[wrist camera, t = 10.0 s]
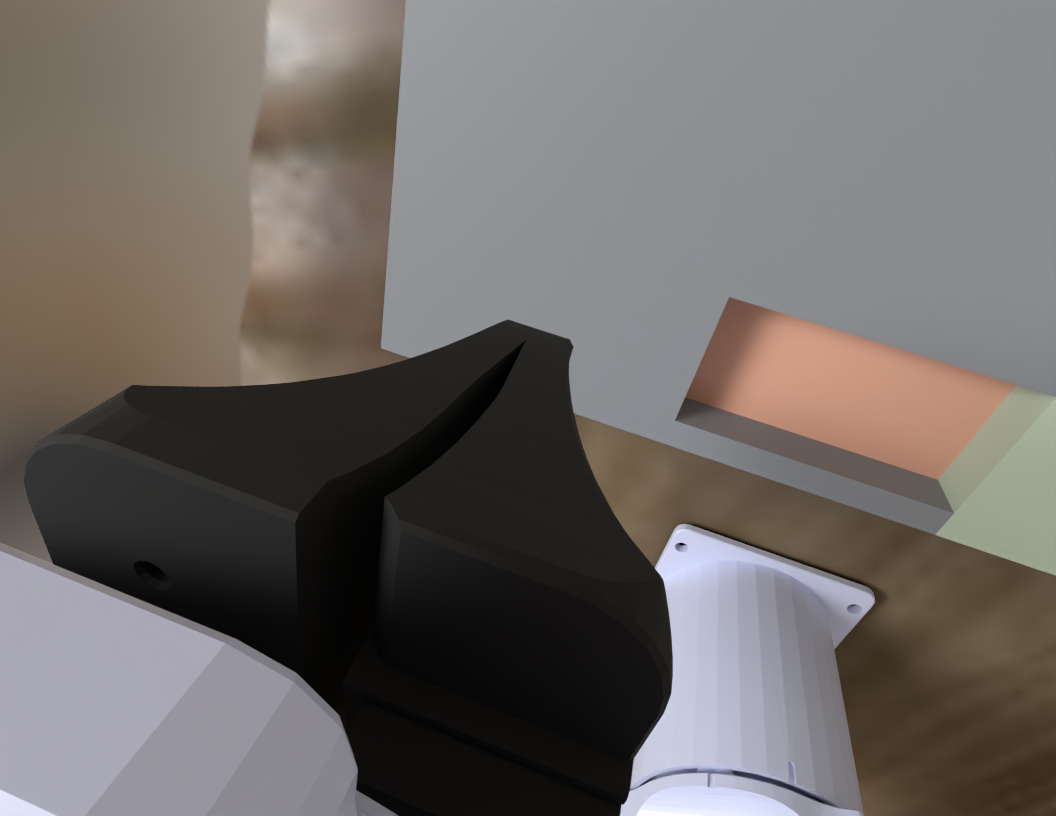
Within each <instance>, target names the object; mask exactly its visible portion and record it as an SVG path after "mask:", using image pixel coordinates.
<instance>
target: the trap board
mask: <svg viewBox="0 0 1056 816" xmlns="http://www.w3.org/2000/svg"><path fill="white" fill-rule="evenodd" d="M505 320H511V321H514V322H518V323H521V324H524V325H527V326H530V327H533V328H536V329H539V330H542V331H545V332H548V333H552V334H555V335H558V336H561V337H564V338H567V339H570V341H571V343H572V345H573V350H572V354H571V357H570V361H569V383H570V392H571V400H572V406H573V412H574V413H575V414H578V415H581V416H584V417H587V418H590V419H593V420H596V421H598V422H601V423H604V424H607V425H610V426H613V427H616V428H619V429H622V430H625V431H628V432H631V433H634V434H637V435H640V436H643V437H646V438H649V439H652V440H655V441H658V442H661V443H664V444H667V445H670V446H673V447H676V448H679V449H682V450H685V451H687V452H690V453H693V454H696V455H699V456H702V457H705V458H708V459H711V460H714V461H717V462H720V463H723V464H726V465H729V466H732V467H735V468H738V469H741V470H744V471H747V472H750V473H753V474H756V475H759V476H762V477H765V478H768V479H771V480H774V481H776V482H779V483H782V484H785V485H788V486H791V487H794V488H797V489H800V490H803V491H806V492H809V493H812V494H815V495H818V496H821V497H824V498H827V499H830V500H833V501H836V502H839V503H842V504H845V505H848V506H851V507H854V508H857V509H860V510H863V511H866V512H868V513H871V514H874V515H877V516H880V517H883V518H886V519H889V520H892V521H895V522H898V523H901V524H904V525H907V526H910V527H913V528H916V529H919V530H922V531H925V532H928V533H931V534H934V535H937V536H940V537H943V538H946V539H949V540H952V541H955V542H957V543H960V544H963V545H966V546H969V547H972V548H975V549H978V550H981V551H984V552H987V553H990V554H993V555H996V556H999V557H1002V558H1005V559H1008V560H1011V561H1014V562H1017V563H1020V564H1023V565H1026V566H1029V567H1032V568H1035V569H1038V570H1041V571H1044V572H1046V573H1049V574H1052V575H1055V576H1056V0H406V9H405V22H404V36H403V50H402V64H401V78H400V91H399V105H398V119H397V133H396V147H395V160H394V174H393V188H392V202H391V216H390V230H389V243H388V257H387V271H386V285H385V299H384V312H383V326H382V340H381V348H382V349H385V350H388V351H391V352H394V353H397V354H400V355H403V356H406V357H409V358H413V357H415V356H418V355H421V354H424V353H427V352H430V351H433V350H435V349H438V348H441V347H444V346H446V345H449V344H451V343H454V342H456V341H458V340H461V339H463V338H466V337H468V336H470V335H473V334H475V333H477V332H479V331H482V330H484V329H486V328H488V327H491V326H493V325H495V324H497V323H500V322H502V321H505Z"/></svg>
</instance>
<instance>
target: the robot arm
mask: <svg viewBox="0 0 1056 816" xmlns="http://www.w3.org/2000/svg"><path fill="white" fill-rule="evenodd" d="M572 350H573V345H572V343H571V341H570V339H567V338H564V337H561V336H558V335H555V334H552V333H548V332H545V331H542V330H539V329H536V328H533V327H530V326H527V325H524V324H521V323H518V322H514V321H511V320H505V321H502V322H500V323H497V324H495V325H493V326H491V327H488V328H486V329H484V330H482V331H479V332H477V333H475V334H473V335H470V336H468V337H466V338H463V339H461V340H458V341H456V342H454V343H451V344H449V345H446V346H444V347H441V348H438V349H435V350H433V351H430V352H427V353H424V354H421V355H418V356H415V357H413V358H410V359H407V360H404V361H401V362H397V363H394V364H390V365H386V366H383V367H379V368H374V369H370V370H366V371H361V372H357V373H352V374H347V375H341V376H334V377H327V378H320V379H314V380H307V381H300V382H292V383H281V384H268V385H252V386H232V387H184V386H182V387H180V386H141V385H132V386H130V387H128V388H127V389H125V390H123V391H122V392H120V393H118V394H117V395H115V396H113V397H112V398H110V399H108V400H106V401H105V402H103V403H102V404H100V405H98V406H96V407H95V408H93V409H91V410H90V411H88V412H87V413H85V414H83V415H81V416H80V417H78V418H76V419H75V420H73V421H71V422H70V423H68V424H66V425H65V426H63V427H61V428H59V429H58V430H56V431H54V432H53V433H51V434H49V435H48V436H46V437H44V438H43V439H41V440H39V441H38V442H37V443H36V444H35V445H34V447H33V448H32V449H31V451H30V452H29V453H28V455H27V457H26V465H25V474H24V484H25V488H26V492H27V496H28V500H29V503H30V506H31V509H32V511H33V514H34V516H35V519H36V521H37V524H38V526H39V529H40V532H41V534H42V536H43V539H44V542H45V544H46V547H47V549H48V552H49V554H50V557H51V560H52V562H53V564H51V563H48V562H46V561H44V560H41V559H39V558H36V557H34V556H31V555H29V554H27V553H24V552H22V551H19V550H17V549H14V548H12V547H9V546H7V545H4V544H2V543H0V816H864V812H863V807H862V801H861V796H860V790H859V784H858V779H857V773H856V768H855V762H854V757H853V751H852V746H851V740H850V734H849V729H848V723H847V718H846V712H845V707H844V701H843V695H842V690H841V684H840V679H839V673H838V668H837V662H836V657H835V651H834V649H835V648H836V647H837V646H838V645H839V643H840V642H841V641H842V640H843V639H844V638H845V637H846V636H847V634H848V633H849V632H850V631H851V630H852V629H853V628H854V627H855V625H856V624H857V623H858V622H859V621H860V620H861V619H862V617H863V616H864V615H865V614H866V613H867V612H868V611H869V610H870V608H871V607H872V606H873V605H874V603H875V597H874V593H873V591H872V590H871V589H870V588H868V587H866V586H863V585H861V584H858V583H855V582H852V581H849V580H846V579H843V578H841V577H838V576H835V575H832V574H829V573H826V572H824V571H821V570H818V569H815V568H812V567H809V566H806V565H804V564H801V563H798V562H795V561H792V560H789V559H786V558H784V557H781V556H778V555H775V554H772V553H769V552H767V551H764V550H761V549H758V548H755V547H752V546H749V545H747V544H744V543H741V542H738V541H735V540H732V539H729V538H727V537H724V536H721V535H718V534H715V533H712V532H710V531H707V530H704V529H701V528H698V527H695V526H692V525H689V524H681V525H679V526H677V527H676V528H675V529H674V531H673V533H672V535H671V537H670V539H669V541H668V543H667V545H666V547H665V549H664V551H663V553H662V555H661V557H660V559H659V561H658V563H657V565H656V566H655V568H654V567H653V566H652V564H651V563H650V562H649V561H648V559H647V558H646V557H645V556H644V554H643V553H642V552H641V551H640V549H639V548H638V547H637V546H636V544H635V543H634V542H633V541H632V540H631V538H630V537H629V536H628V534H627V533H626V532H625V530H624V529H623V527H622V526H621V524H620V523H619V521H618V520H617V518H616V516H615V515H614V513H613V511H612V510H611V508H610V506H609V504H608V502H607V500H606V498H605V496H604V495H603V493H602V491H601V489H600V487H599V485H598V483H597V481H596V479H595V477H594V475H593V472H592V470H591V467H590V465H589V463H588V460H587V457H586V455H585V452H584V449H583V446H582V443H581V440H580V437H579V433H578V429H577V425H576V421H575V416H574V412H573V406H572V400H571V392H570V383H569V361H570V357H571V354H572ZM677 543H684V544H686V545H684V546H682V545H679V544H677ZM852 604H856V605H855V606H851V605H852Z"/></svg>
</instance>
